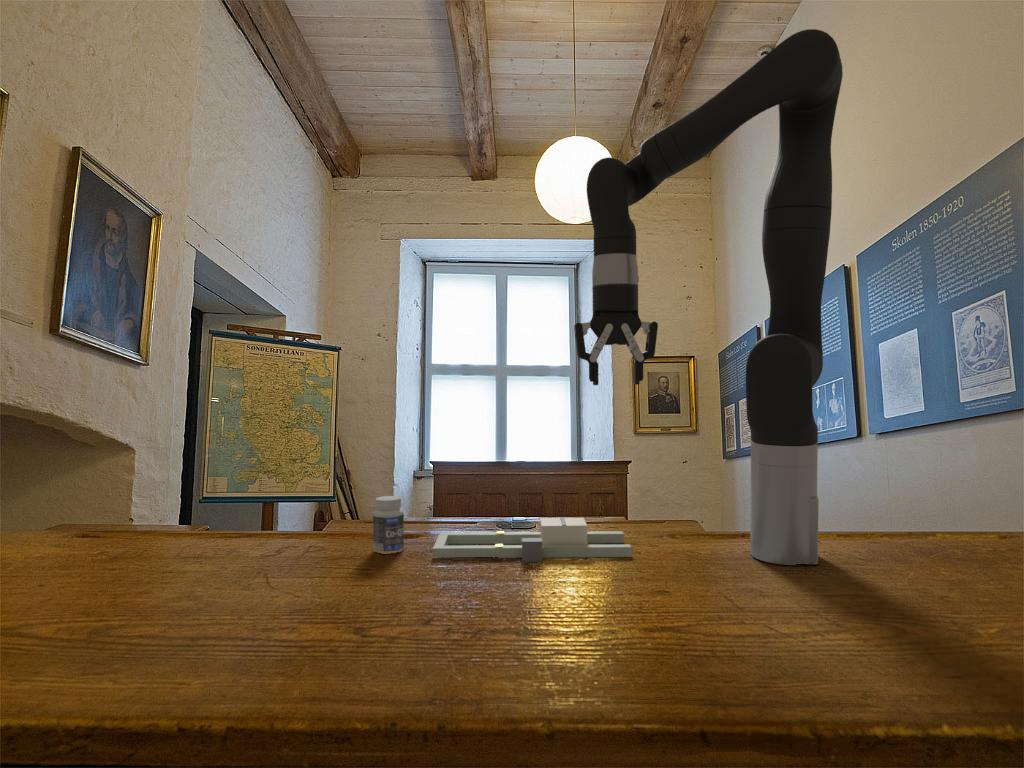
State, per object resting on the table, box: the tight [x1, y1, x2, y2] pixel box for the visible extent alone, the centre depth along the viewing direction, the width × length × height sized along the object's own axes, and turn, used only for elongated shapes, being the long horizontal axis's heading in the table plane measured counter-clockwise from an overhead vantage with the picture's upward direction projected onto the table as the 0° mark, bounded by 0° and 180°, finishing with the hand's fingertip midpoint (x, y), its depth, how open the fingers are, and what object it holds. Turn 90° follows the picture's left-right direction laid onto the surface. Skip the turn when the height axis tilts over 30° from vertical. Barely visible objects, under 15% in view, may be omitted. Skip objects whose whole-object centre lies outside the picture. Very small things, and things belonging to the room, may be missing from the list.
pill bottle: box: [372, 495, 405, 552], centre depth 107 cm, size 5×5×8 cm
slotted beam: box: [432, 530, 633, 563], centre depth 106 cm, size 30×11×3 cm, turn 89°
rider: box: [539, 516, 588, 545], centre depth 107 cm, size 7×5×5 cm
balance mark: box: [494, 530, 505, 548], centre depth 107 cm, size 1×9×1 cm, turn 179°
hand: (615, 384), depth 113 cm, fingers open, 6 cm apart
